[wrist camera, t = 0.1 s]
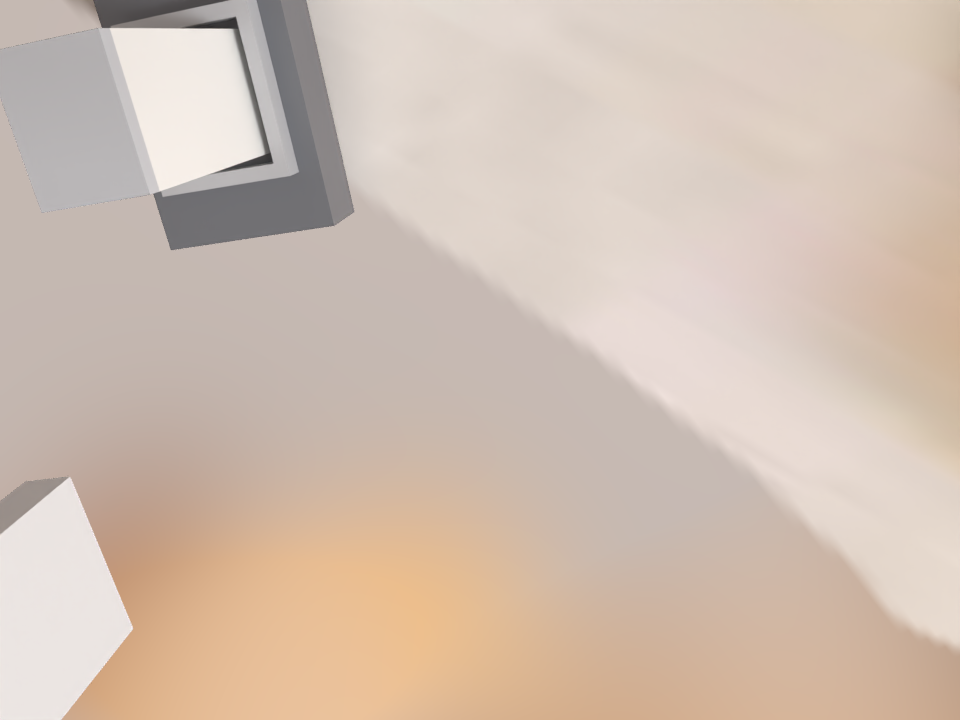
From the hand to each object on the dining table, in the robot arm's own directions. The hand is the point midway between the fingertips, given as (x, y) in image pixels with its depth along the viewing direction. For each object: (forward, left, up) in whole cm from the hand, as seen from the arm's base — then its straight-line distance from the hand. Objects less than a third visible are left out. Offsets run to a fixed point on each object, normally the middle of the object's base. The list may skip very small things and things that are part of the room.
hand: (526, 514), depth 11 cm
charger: (-6, -15, -25) cm, 30 cm away
